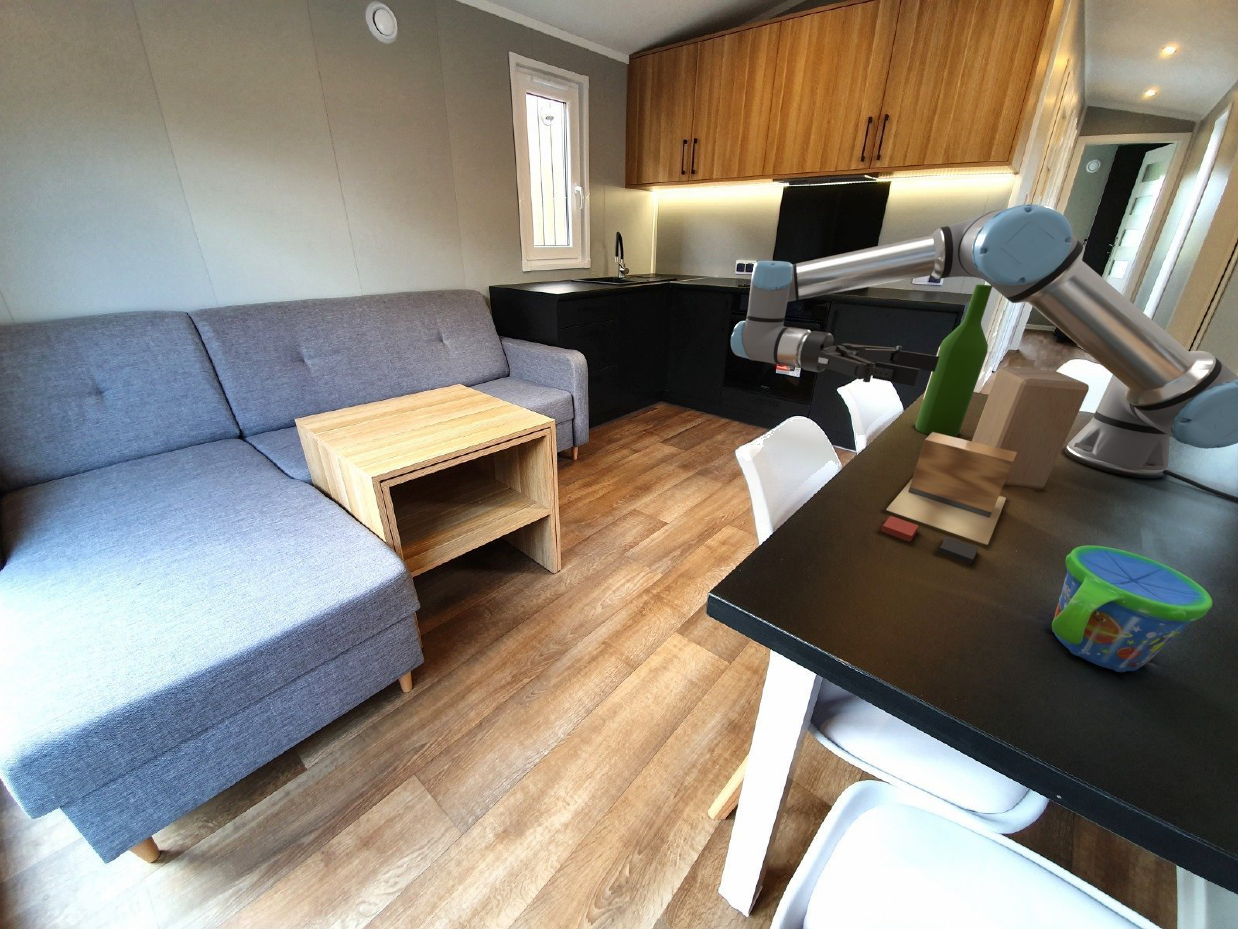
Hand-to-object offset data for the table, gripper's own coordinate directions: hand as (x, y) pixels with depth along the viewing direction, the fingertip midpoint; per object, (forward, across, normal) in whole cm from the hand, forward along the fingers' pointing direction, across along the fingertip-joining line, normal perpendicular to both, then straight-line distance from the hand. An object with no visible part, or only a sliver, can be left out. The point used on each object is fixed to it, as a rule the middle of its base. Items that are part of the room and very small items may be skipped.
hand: (927, 370), depth 83 cm
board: (+10, +6, -20) cm, 23 cm away
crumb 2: (+14, +21, -21) cm, 32 cm away
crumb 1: (+6, +21, -20) cm, 30 cm away
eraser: (+10, +4, -20) cm, 22 cm away
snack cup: (+28, +31, -21) cm, 47 cm away
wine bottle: (0, -34, -21) cm, 40 cm away
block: (+14, -15, -21) cm, 30 cm away
